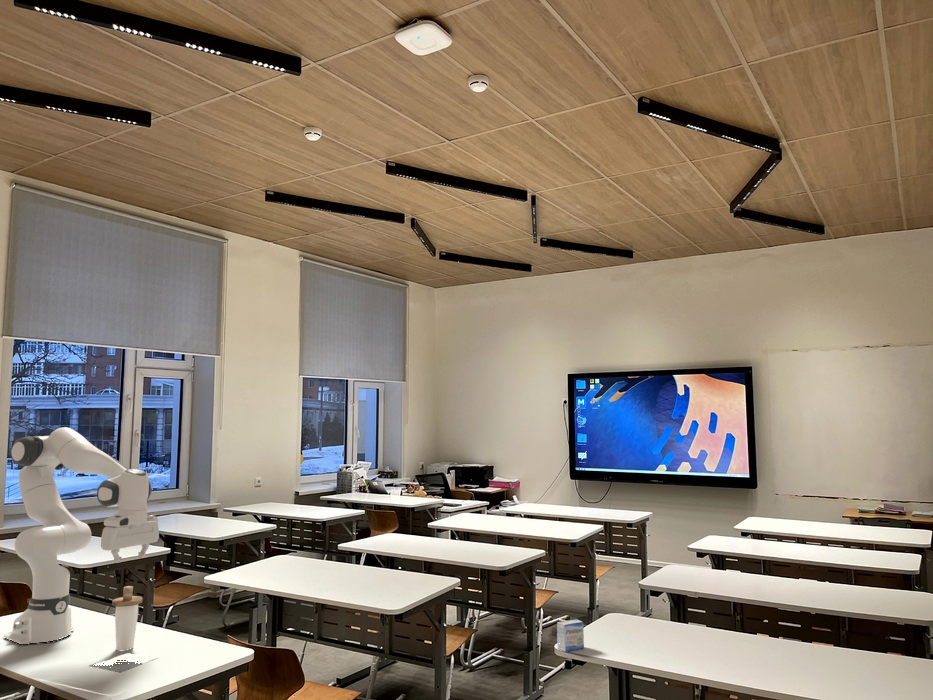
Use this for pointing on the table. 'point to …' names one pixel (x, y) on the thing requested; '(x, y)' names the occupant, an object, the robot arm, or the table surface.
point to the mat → (118, 666)
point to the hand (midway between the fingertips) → (129, 559)
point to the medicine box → (570, 635)
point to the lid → (127, 598)
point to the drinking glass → (125, 626)
